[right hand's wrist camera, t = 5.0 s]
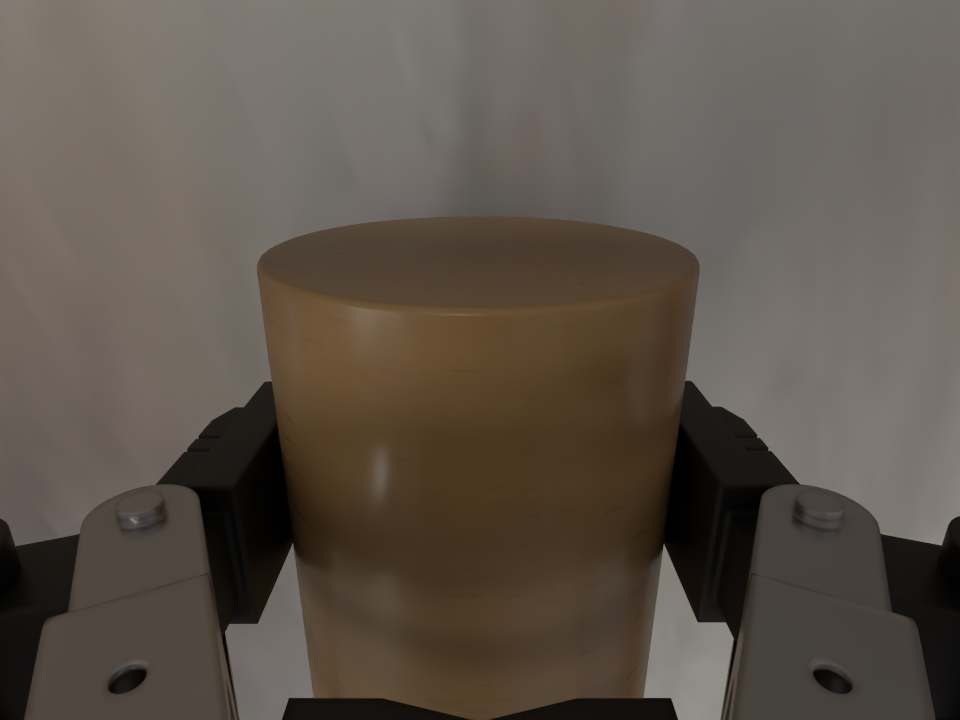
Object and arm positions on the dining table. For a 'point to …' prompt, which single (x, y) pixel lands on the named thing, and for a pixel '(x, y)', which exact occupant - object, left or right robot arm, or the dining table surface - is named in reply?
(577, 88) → the dining table surface
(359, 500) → the rod
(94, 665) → the right robot arm
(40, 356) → the dining table surface
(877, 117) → the dining table surface
